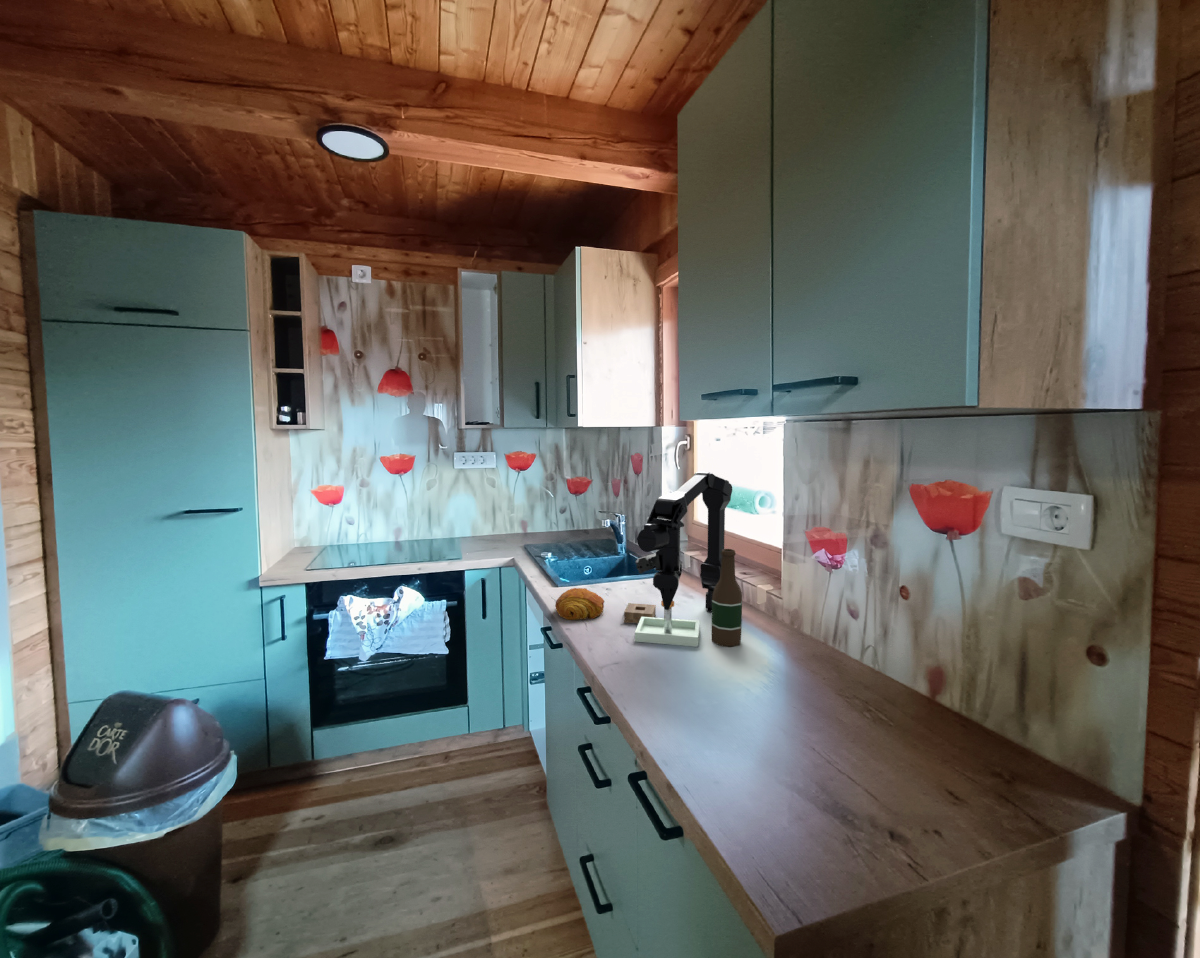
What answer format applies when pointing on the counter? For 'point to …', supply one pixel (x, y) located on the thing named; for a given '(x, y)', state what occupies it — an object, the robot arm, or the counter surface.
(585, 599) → the croissant
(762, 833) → the counter surface
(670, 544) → the robot arm
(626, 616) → the block
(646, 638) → the tray
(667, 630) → the pin
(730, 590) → the beer bottle
